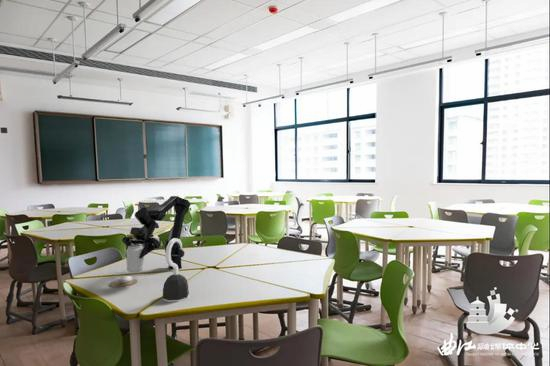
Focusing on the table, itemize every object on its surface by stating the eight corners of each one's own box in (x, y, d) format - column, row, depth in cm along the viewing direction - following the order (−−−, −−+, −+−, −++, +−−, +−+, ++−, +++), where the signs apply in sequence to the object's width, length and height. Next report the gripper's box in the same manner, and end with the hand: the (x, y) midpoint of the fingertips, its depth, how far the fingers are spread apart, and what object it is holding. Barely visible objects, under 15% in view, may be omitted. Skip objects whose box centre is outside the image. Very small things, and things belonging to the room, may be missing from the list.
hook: (172, 292, 155) (170, 235, 154) (194, 294, 152) (193, 236, 151) (156, 300, 144) (155, 240, 144) (179, 303, 141) (178, 241, 140)
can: (126, 273, 162) (125, 247, 161) (127, 269, 169) (127, 244, 169) (143, 272, 164) (142, 246, 163) (144, 268, 171) (143, 243, 171)
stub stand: (137, 278, 177) (137, 273, 177) (136, 285, 165) (135, 280, 165) (111, 281, 173) (111, 276, 173) (108, 288, 162) (107, 283, 162)
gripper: (123, 220, 172) (107, 247, 162) (156, 221, 167) (141, 249, 156) (135, 233, 180) (120, 260, 170) (166, 234, 174) (152, 262, 164)
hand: (133, 257), depth 165 cm, fingers closed on can, 7 cm apart
